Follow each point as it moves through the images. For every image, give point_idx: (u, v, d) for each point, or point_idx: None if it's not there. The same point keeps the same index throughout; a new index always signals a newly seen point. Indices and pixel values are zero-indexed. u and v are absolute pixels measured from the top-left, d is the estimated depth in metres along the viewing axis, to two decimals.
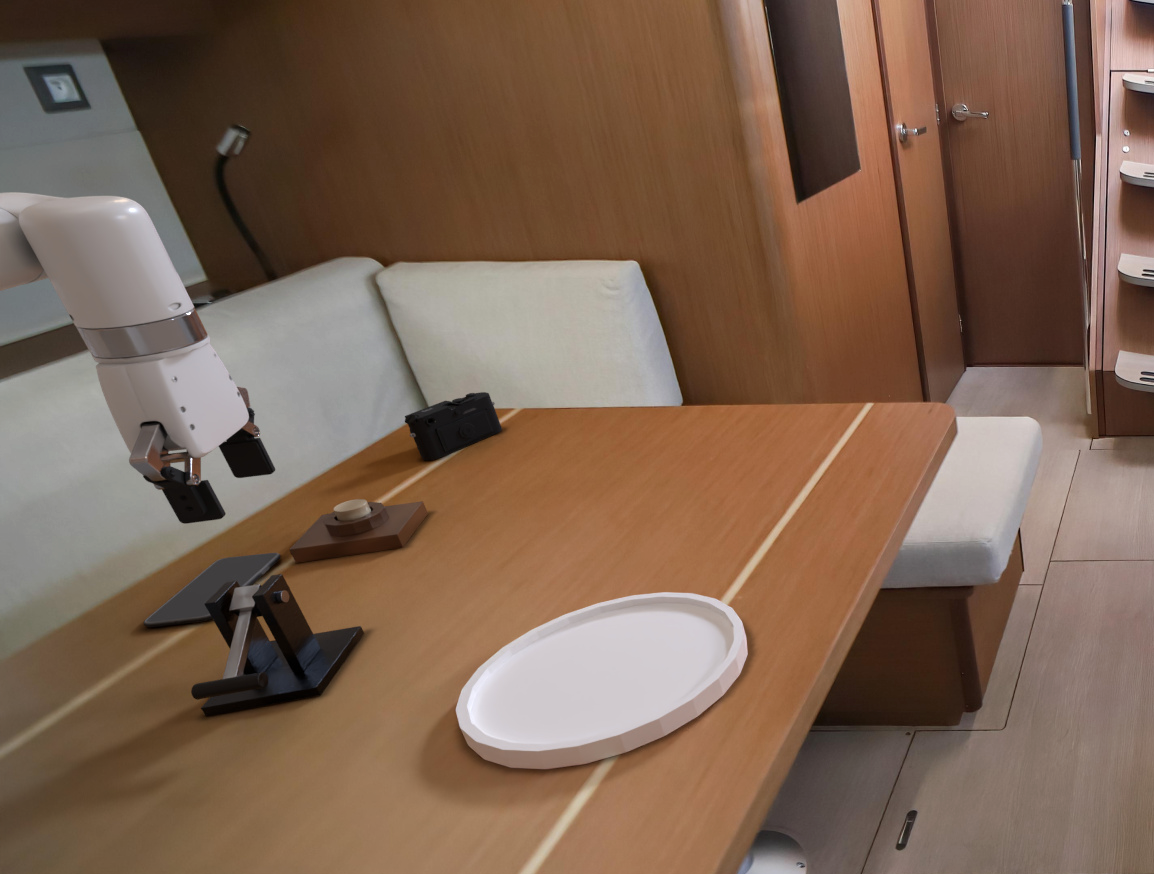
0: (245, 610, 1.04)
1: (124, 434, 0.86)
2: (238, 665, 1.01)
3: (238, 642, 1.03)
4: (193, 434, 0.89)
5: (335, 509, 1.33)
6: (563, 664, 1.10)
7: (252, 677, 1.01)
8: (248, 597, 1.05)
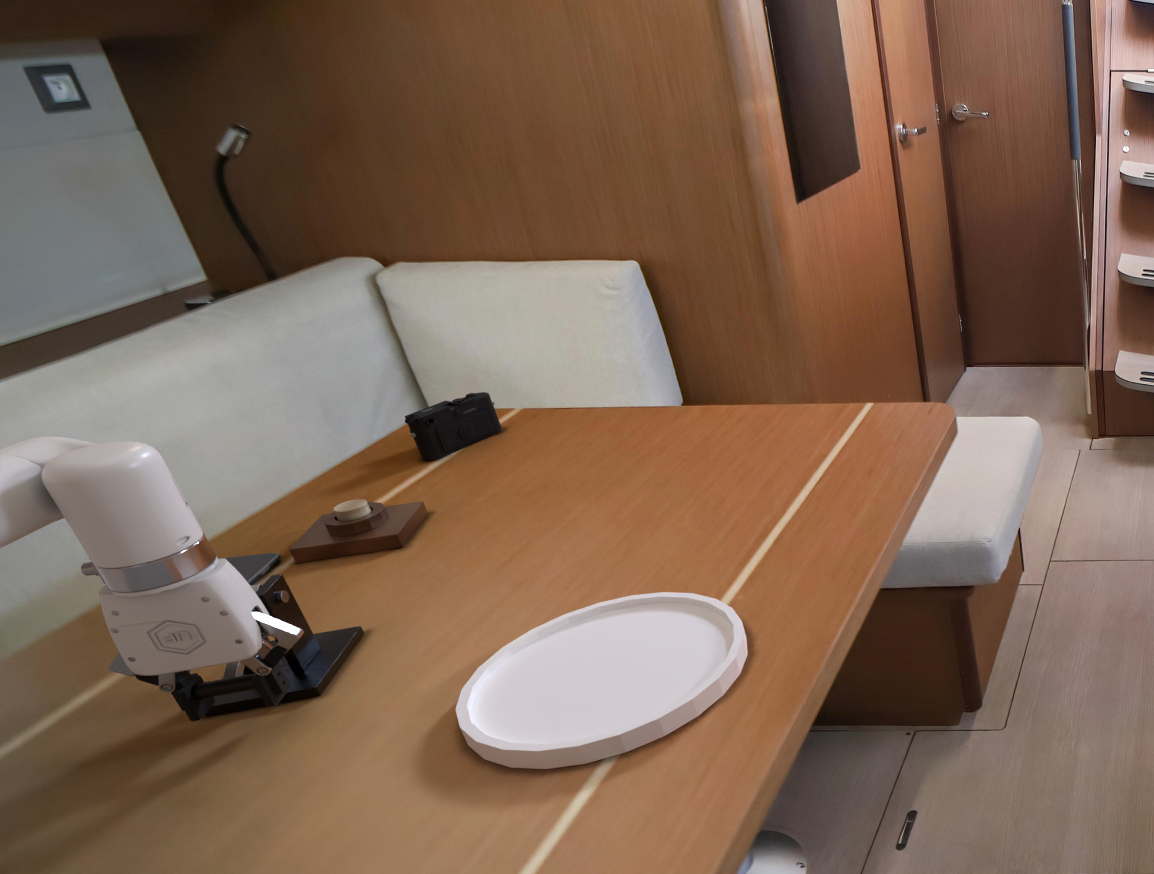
0: None
1: (247, 627, 0.97)
2: (238, 665, 1.01)
3: None
4: None
5: (335, 509, 1.33)
6: (563, 664, 1.10)
7: (252, 677, 1.01)
8: None
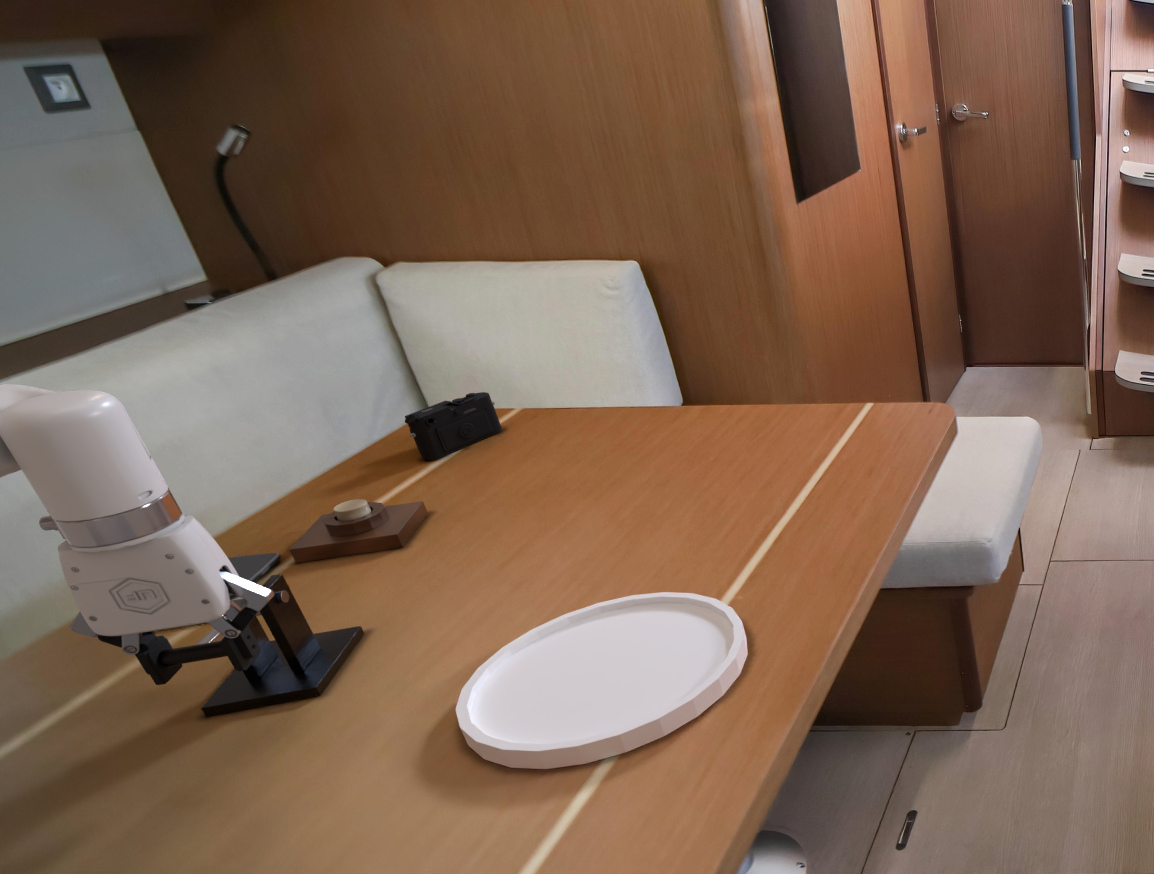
0: (242, 603, 1.04)
1: (214, 586, 0.94)
2: (215, 637, 0.99)
3: None
4: None
5: (335, 509, 1.33)
6: (563, 664, 1.10)
7: None
8: None
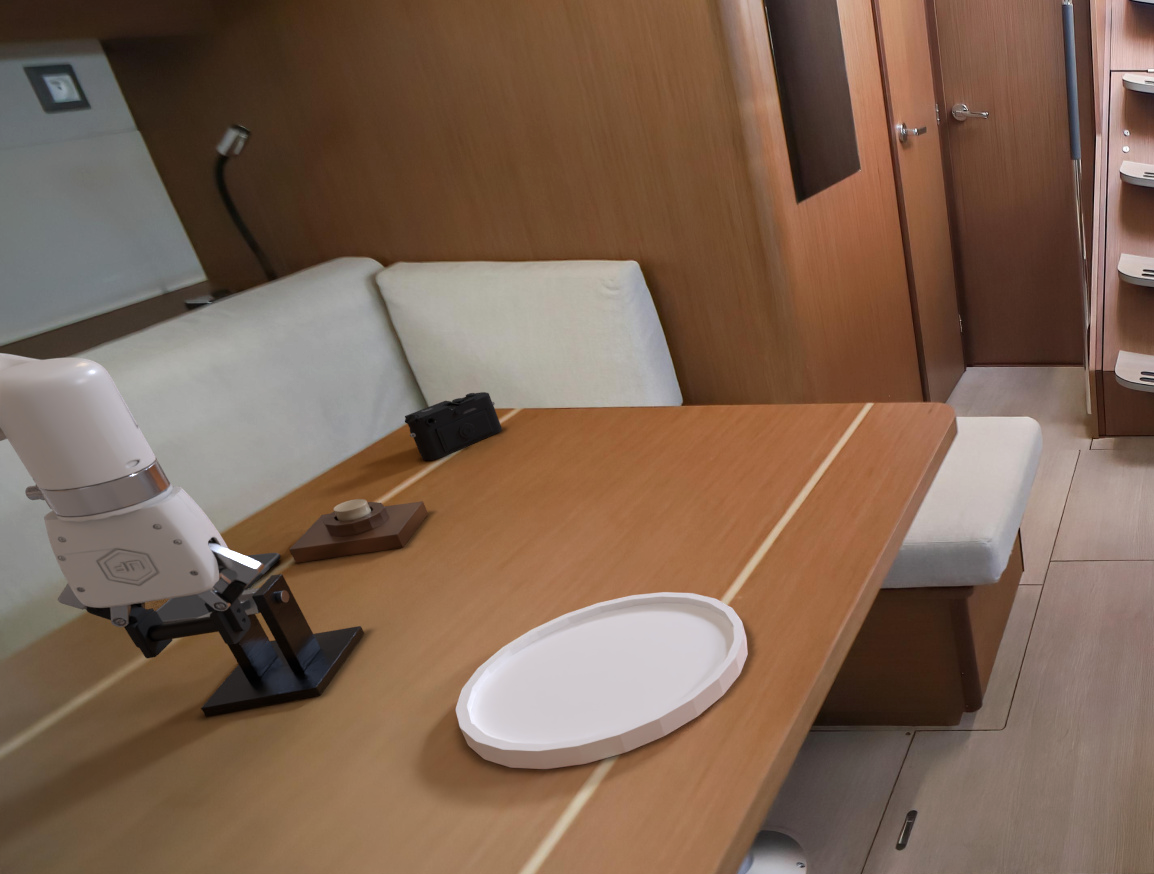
0: (242, 599, 1.04)
1: (202, 558, 0.93)
2: (208, 616, 0.98)
3: None
4: None
5: (335, 509, 1.33)
6: (563, 664, 1.10)
7: None
8: (251, 591, 1.05)
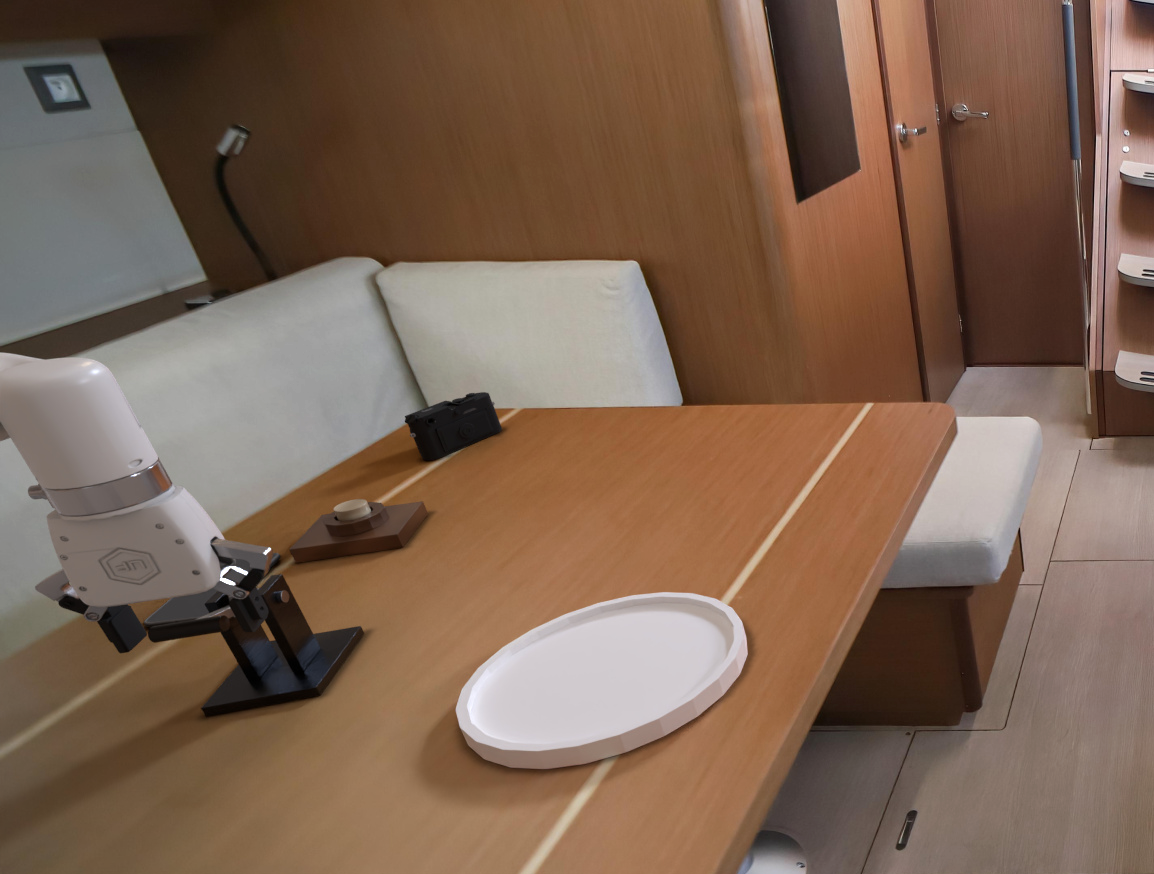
0: None
1: (204, 557, 0.93)
2: (208, 617, 0.98)
3: (220, 610, 1.01)
4: None
5: (335, 509, 1.33)
6: (563, 664, 1.10)
7: (216, 616, 0.97)
8: None
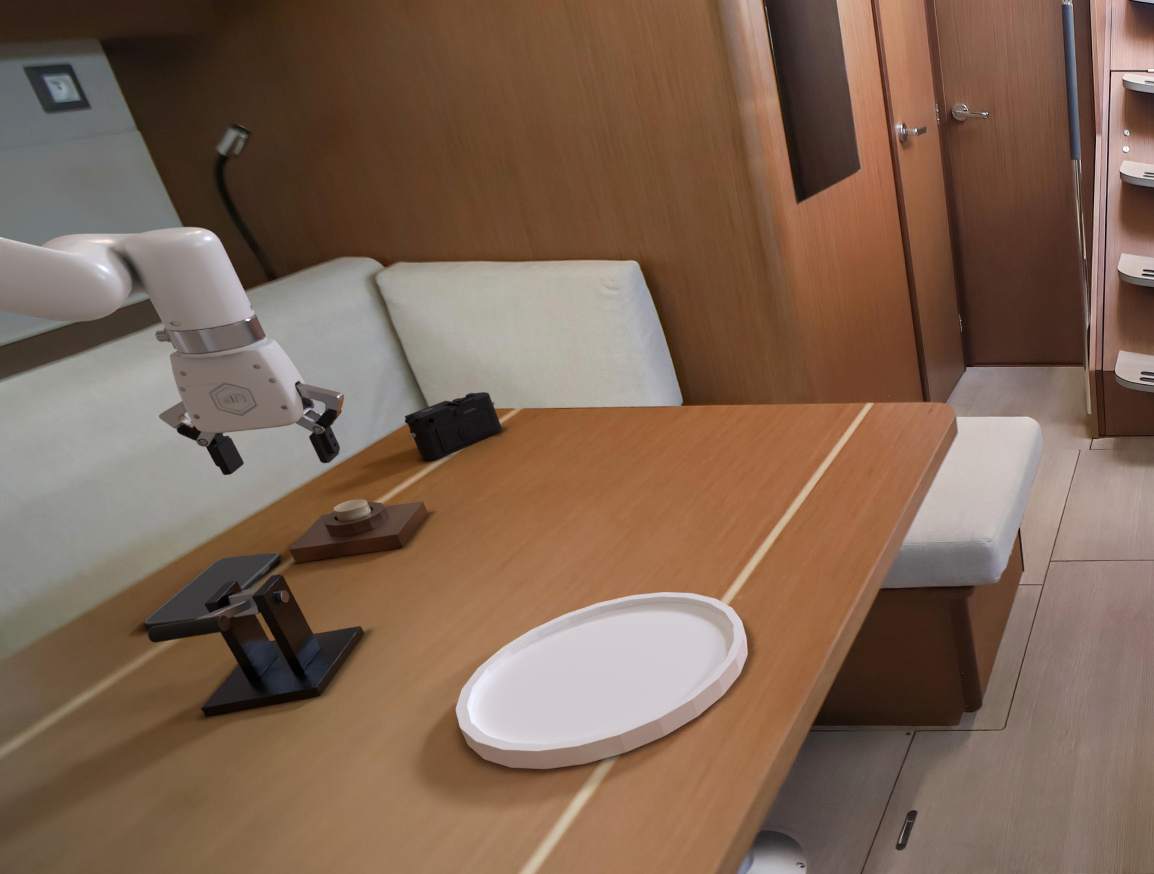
0: (242, 599, 1.04)
1: (291, 396, 1.15)
2: (208, 617, 0.98)
3: (220, 610, 1.01)
4: None
5: (335, 509, 1.33)
6: (563, 664, 1.10)
7: (216, 616, 0.97)
8: (251, 591, 1.05)
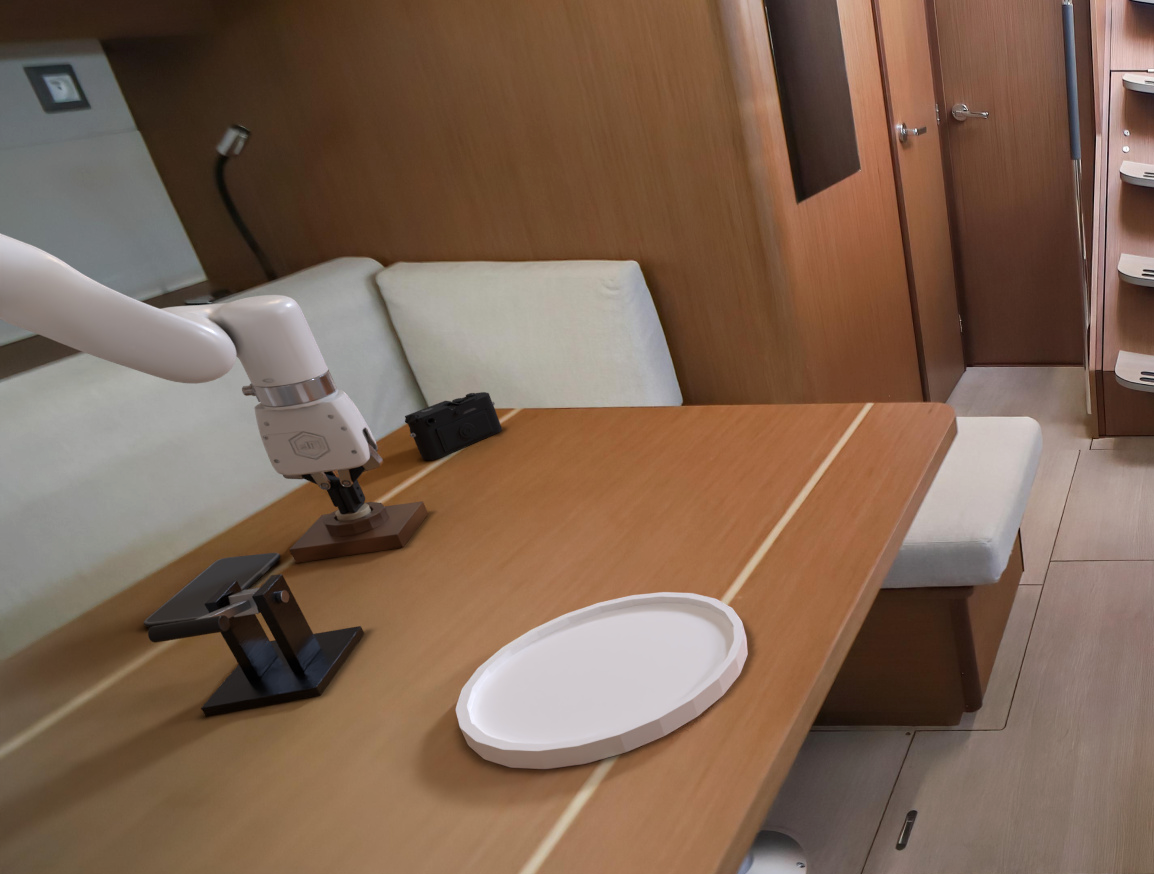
0: (242, 599, 1.04)
1: (359, 441, 1.29)
2: (208, 617, 0.98)
3: (220, 610, 1.01)
4: None
5: (337, 513, 1.33)
6: (563, 664, 1.10)
7: (216, 616, 0.97)
8: (251, 591, 1.05)
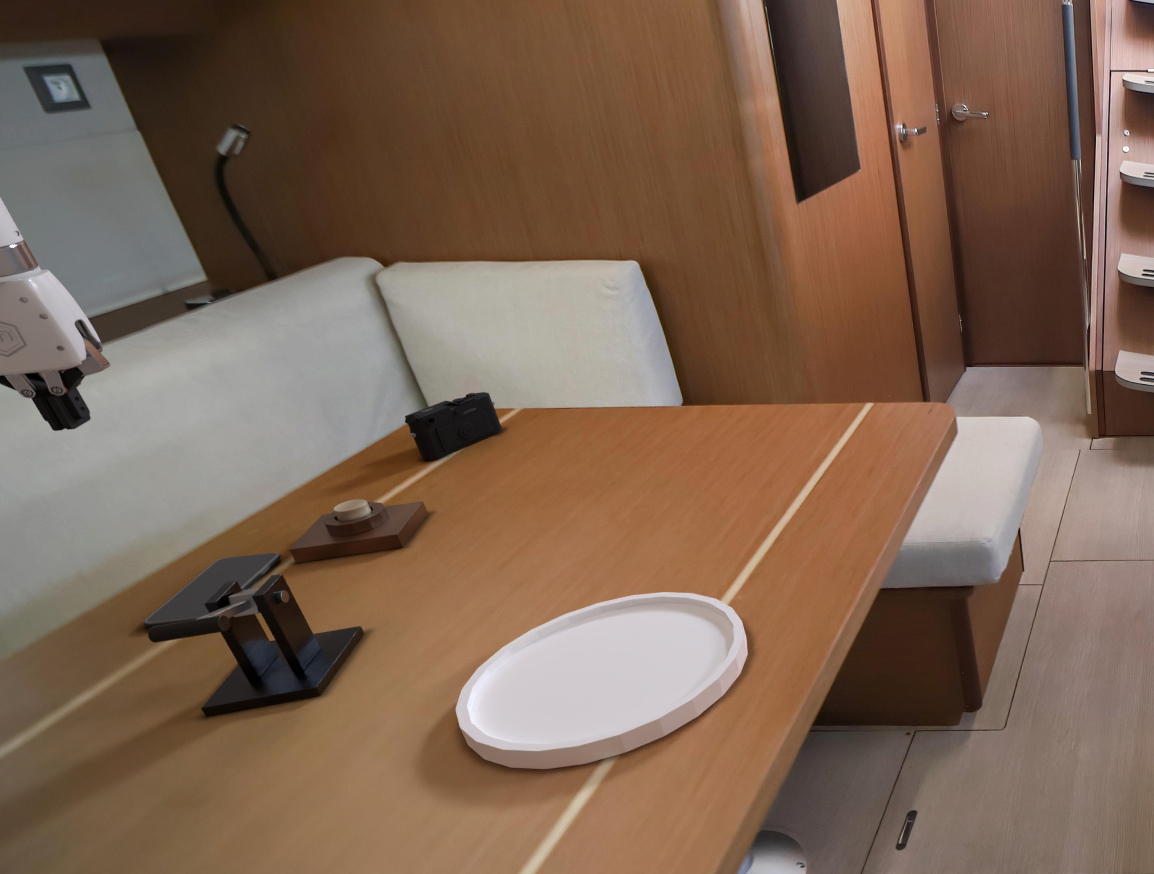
0: (242, 599, 1.04)
1: (68, 335, 1.01)
2: (208, 617, 0.98)
3: (220, 610, 1.01)
4: None
5: (335, 509, 1.33)
6: (563, 664, 1.10)
7: (216, 616, 0.97)
8: (251, 591, 1.05)
